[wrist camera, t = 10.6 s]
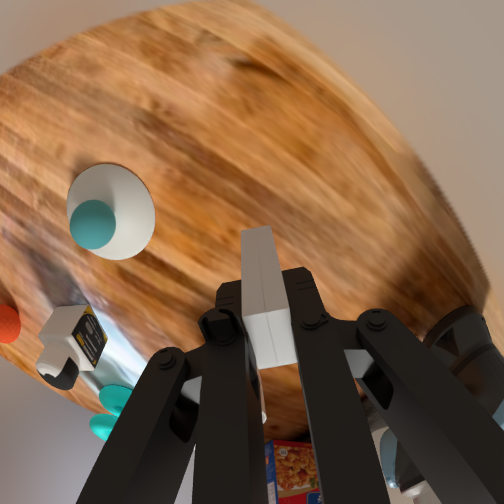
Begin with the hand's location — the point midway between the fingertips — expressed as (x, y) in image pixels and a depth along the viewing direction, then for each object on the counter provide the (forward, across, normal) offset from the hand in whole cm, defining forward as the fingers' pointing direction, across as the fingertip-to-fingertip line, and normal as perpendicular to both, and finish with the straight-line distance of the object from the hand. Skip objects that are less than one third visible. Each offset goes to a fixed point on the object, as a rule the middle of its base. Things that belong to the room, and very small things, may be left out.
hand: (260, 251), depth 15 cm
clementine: (+17, +47, +11) cm, 51 cm away
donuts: (+17, +33, +35) cm, 51 cm away
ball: (+14, +18, 0) cm, 22 cm away
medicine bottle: (+17, +30, +15) cm, 37 cm away
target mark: (+16, +17, 0) cm, 24 cm away
